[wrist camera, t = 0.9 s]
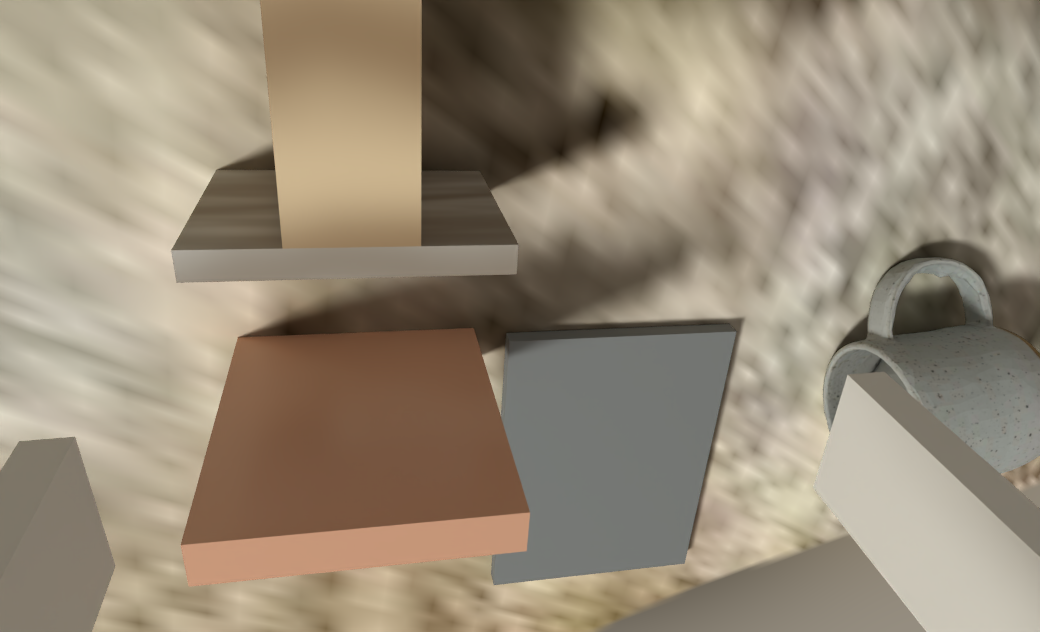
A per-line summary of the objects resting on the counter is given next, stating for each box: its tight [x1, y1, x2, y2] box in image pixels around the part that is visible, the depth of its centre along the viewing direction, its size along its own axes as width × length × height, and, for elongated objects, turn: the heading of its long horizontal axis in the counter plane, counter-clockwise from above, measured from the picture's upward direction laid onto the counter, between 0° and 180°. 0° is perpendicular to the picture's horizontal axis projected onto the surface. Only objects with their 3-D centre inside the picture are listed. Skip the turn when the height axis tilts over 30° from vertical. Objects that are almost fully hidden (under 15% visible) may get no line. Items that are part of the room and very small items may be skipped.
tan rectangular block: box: [171, 0, 519, 283], centre depth 23 cm, size 13×10×8 cm
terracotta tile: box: [181, 328, 530, 586], centre depth 27 cm, size 2×10×12 cm, turn 86°
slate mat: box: [491, 324, 736, 585], centre depth 38 cm, size 15×11×1 cm
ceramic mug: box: [823, 257, 1040, 474], centre depth 35 cm, size 11×8×8 cm
